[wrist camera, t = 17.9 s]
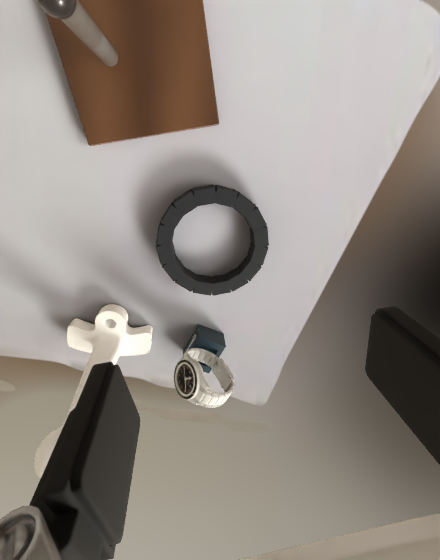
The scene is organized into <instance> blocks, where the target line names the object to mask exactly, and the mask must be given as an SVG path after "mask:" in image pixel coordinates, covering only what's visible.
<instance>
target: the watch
mask: <svg viewBox="0 0 440 560" xmlns="http://www.w3.org/2000/svg"><path fill="white" fill-rule="evenodd" d="M225 347H226V345H225V340H224V334H223V333H221V332H218V331H215V330H213V329H210V328H207V327H204V326H202V325H199V324H198V326H197V327H196V329H195V331H194V333H193V334H192V336H191V338H190V340H189V342H188V343H187V345H186V347H185V349H184V350H183V357H182V359H181V360H180V361H179V362H178V363H177V365H176V367H175V371H174V384H175V388H176V390H177V393H178V395H179V396H180V397H181V398H182V399H184V400H189V401H190V402H192V403H193V404H195V405H201V406H204V407H211V408H214V407H218V406H221V405H222V404H223V403H225V401H226V399H227V398H228V397H229V396H230V394H231V393H232V391H233V389H234V377H233V375H232V373H231V371H230V369H229V368H228V366H227V365H226V363H225V362H224V361H223V360H222V359H220V358H219V356H220V355H221V353H222V352H223V350H224V348H225ZM211 369H213V370H212V372H213V373H214V374H215V376H216V377H217V379H218V380H219V382H220V384H221V386H222V388H224V391H225V393H224V394H223V393H215V392H211V391H209V390H207V389H209V386H208V384H207V382H206V380H205V378H204V372H207V373H209V372H210V371H211Z"/></svg>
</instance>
